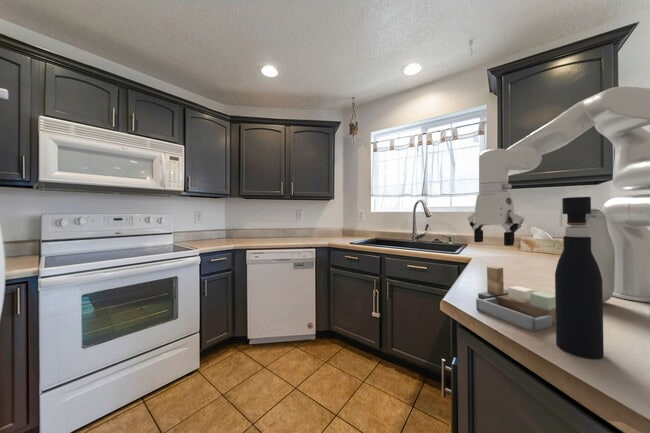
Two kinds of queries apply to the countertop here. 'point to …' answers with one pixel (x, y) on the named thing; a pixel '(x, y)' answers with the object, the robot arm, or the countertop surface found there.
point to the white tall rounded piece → (601, 249)
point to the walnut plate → (525, 308)
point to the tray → (513, 315)
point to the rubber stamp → (494, 284)
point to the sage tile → (543, 300)
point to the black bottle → (578, 287)
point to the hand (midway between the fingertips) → (492, 243)
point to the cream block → (520, 293)
